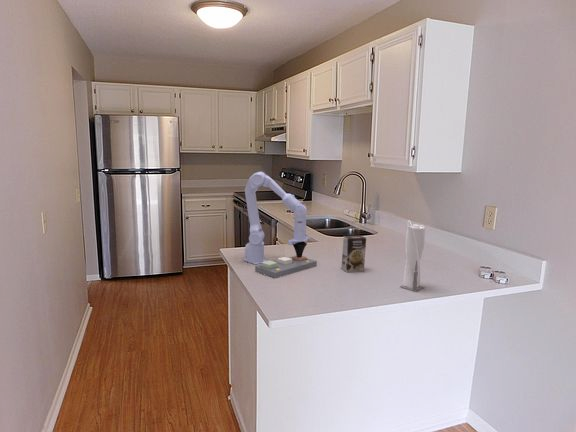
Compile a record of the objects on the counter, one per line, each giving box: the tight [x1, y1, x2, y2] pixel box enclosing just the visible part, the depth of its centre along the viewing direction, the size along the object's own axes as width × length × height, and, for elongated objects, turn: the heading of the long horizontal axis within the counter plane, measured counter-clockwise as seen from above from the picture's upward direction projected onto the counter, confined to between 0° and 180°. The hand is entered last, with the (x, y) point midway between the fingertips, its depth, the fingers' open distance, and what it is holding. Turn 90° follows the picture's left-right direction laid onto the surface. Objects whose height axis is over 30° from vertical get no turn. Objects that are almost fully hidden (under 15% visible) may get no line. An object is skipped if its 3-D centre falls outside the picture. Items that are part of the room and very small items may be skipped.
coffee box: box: [341, 235, 367, 273], centre depth 188 cm, size 9×6×16 cm
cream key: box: [276, 256, 292, 266], centre depth 189 cm, size 5×5×3 cm
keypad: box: [254, 256, 318, 279], centre depth 188 cm, size 13×28×3 cm, turn 136°
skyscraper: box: [399, 219, 426, 293], centre depth 166 cm, size 8×8×28 cm
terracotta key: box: [291, 254, 307, 262], centre depth 196 cm, size 5×5×3 cm
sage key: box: [260, 260, 277, 270], centre depth 182 cm, size 5×5×3 cm
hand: (299, 257), depth 196 cm, fingers closed, pressing on terracotta key
